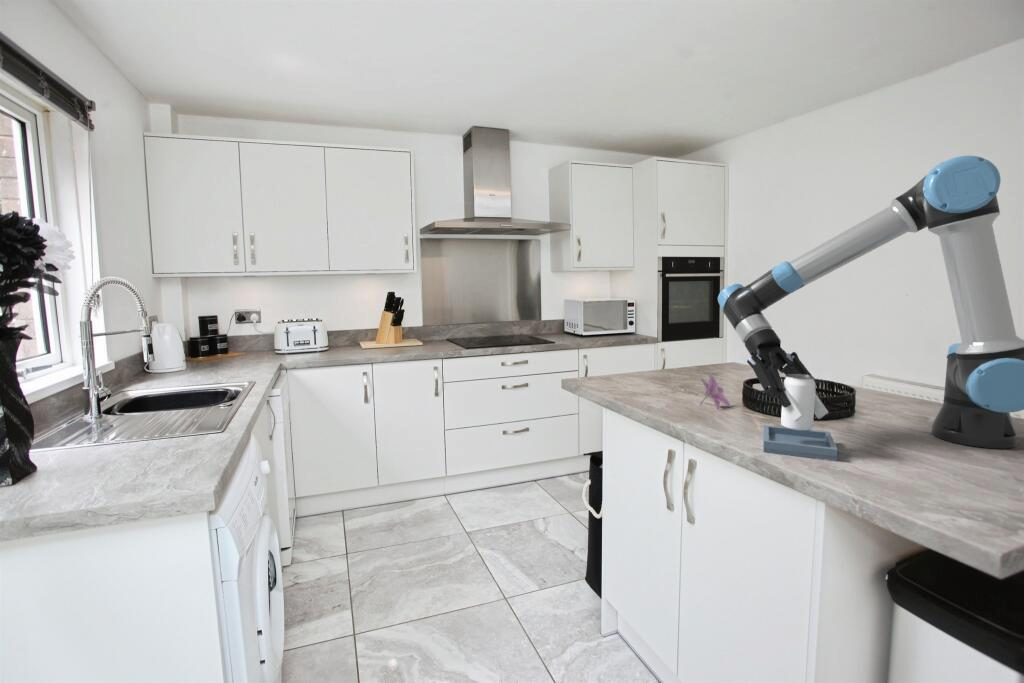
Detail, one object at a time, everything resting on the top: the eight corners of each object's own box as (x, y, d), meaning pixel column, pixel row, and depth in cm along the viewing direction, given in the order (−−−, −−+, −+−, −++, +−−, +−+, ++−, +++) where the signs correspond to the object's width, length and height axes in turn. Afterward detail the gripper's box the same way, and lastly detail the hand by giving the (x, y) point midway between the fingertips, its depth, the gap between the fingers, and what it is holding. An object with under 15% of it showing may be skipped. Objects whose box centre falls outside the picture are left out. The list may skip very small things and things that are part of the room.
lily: (697, 415, 150) (714, 389, 147) (679, 392, 160) (695, 367, 157) (728, 423, 154) (746, 398, 150) (708, 400, 164) (725, 376, 161)
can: (817, 432, 113) (821, 379, 112) (785, 430, 115) (789, 378, 113) (806, 424, 120) (810, 374, 118) (776, 422, 121) (780, 373, 119)
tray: (829, 442, 121) (829, 432, 120) (836, 461, 108) (837, 449, 108) (763, 435, 127) (764, 425, 126) (763, 451, 114) (764, 441, 114)
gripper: (779, 344, 133) (831, 421, 119) (718, 347, 126) (766, 429, 113) (797, 325, 127) (855, 404, 114) (735, 328, 121) (788, 412, 107)
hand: (811, 416), depth 113 cm, fingers closed on can, 6 cm apart
